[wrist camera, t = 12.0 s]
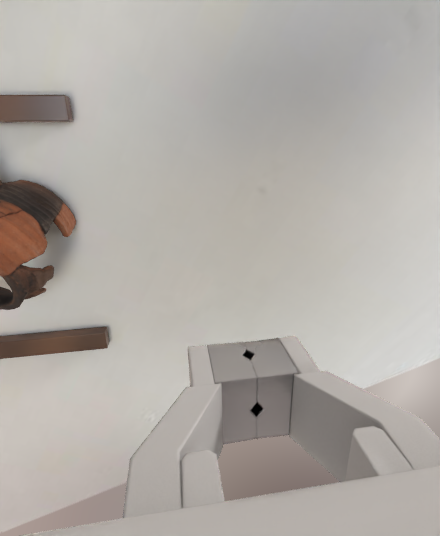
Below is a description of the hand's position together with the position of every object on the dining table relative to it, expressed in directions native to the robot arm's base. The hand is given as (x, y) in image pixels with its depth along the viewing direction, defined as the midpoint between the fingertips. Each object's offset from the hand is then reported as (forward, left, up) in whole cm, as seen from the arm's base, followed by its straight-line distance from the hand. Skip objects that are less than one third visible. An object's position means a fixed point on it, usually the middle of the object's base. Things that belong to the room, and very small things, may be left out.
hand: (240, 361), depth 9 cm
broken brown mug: (+15, 0, -23) cm, 28 cm away
